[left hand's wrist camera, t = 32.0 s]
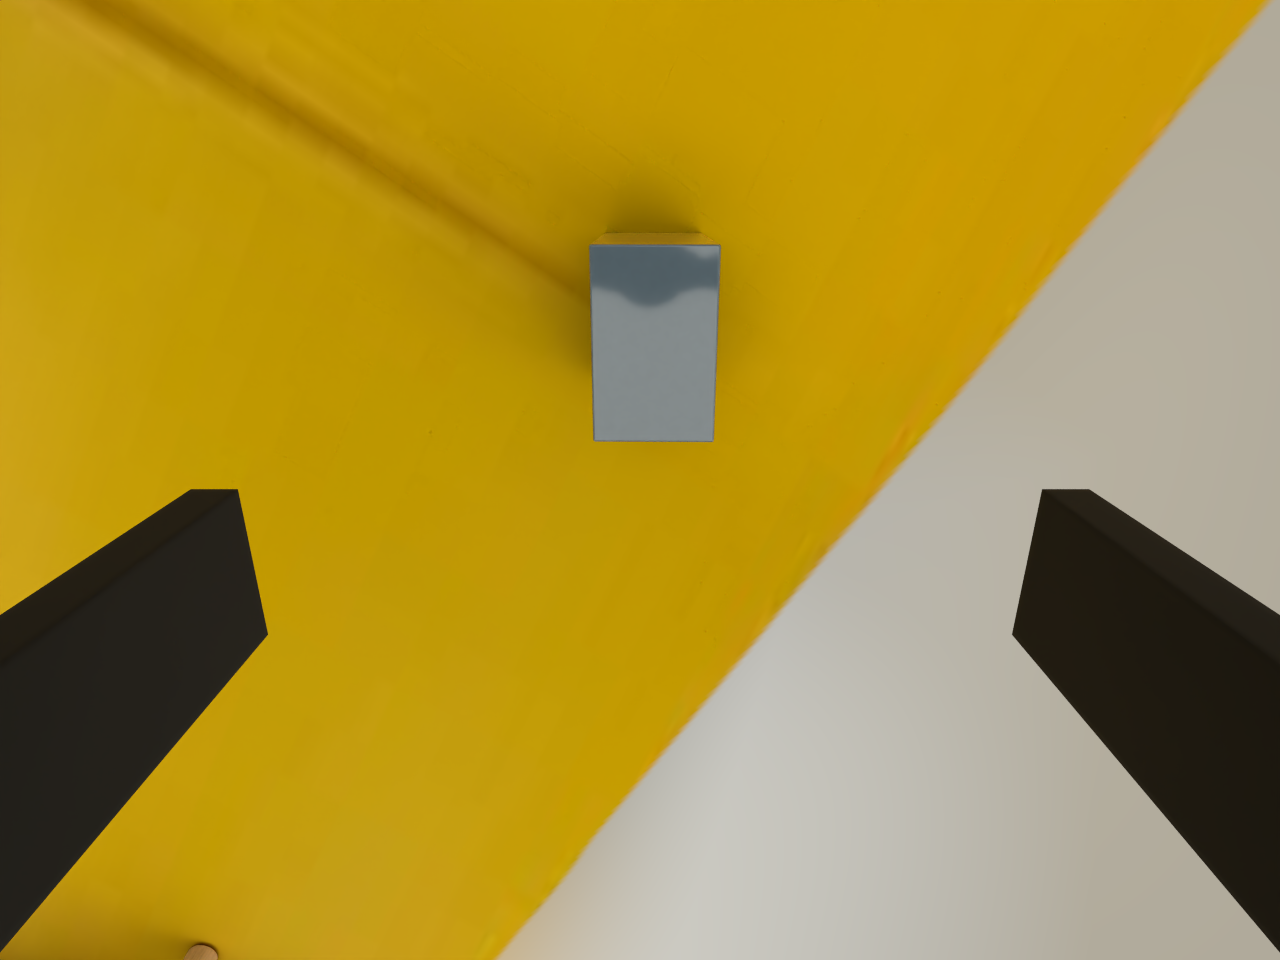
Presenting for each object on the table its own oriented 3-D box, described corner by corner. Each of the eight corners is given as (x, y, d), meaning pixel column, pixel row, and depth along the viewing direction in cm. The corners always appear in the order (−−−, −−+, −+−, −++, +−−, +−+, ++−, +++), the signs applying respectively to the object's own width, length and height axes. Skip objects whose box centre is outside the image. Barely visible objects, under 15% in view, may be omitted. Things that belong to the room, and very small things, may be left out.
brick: (606, 382, 46) (593, 441, 35) (604, 232, 43) (589, 244, 31) (697, 383, 46) (713, 442, 34) (702, 232, 43) (721, 244, 31)
